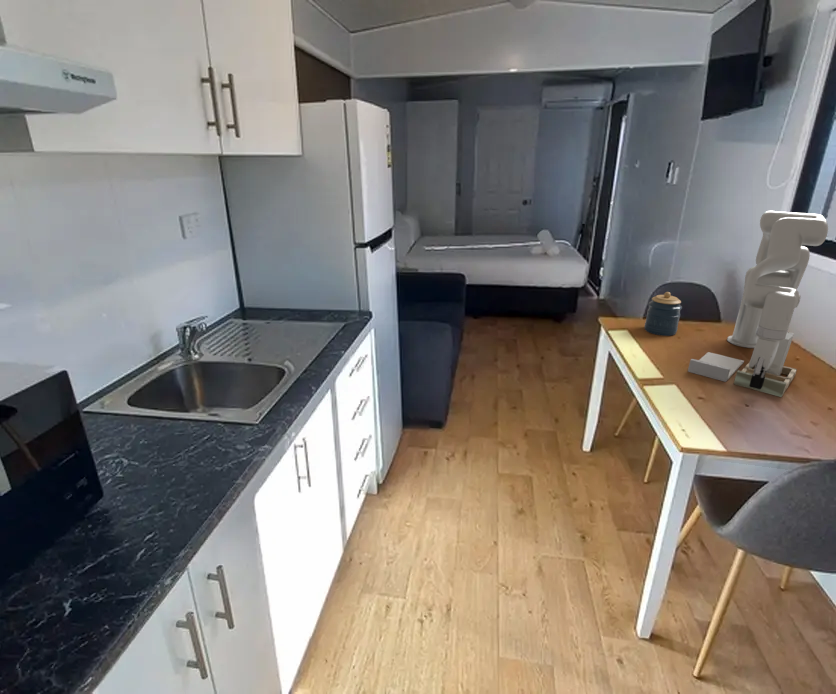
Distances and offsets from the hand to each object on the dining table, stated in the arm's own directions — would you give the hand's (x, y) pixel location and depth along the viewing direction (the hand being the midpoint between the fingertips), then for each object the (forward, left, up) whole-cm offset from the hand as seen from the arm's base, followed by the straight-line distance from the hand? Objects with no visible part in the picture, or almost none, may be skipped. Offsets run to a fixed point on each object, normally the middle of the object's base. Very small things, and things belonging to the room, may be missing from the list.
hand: (755, 387), depth 155 cm
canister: (-44, -44, -3) cm, 62 cm away
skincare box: (-23, 0, -3) cm, 23 cm away
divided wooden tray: (-17, 0, -3) cm, 17 cm away
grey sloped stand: (-17, -15, -3) cm, 23 cm away
